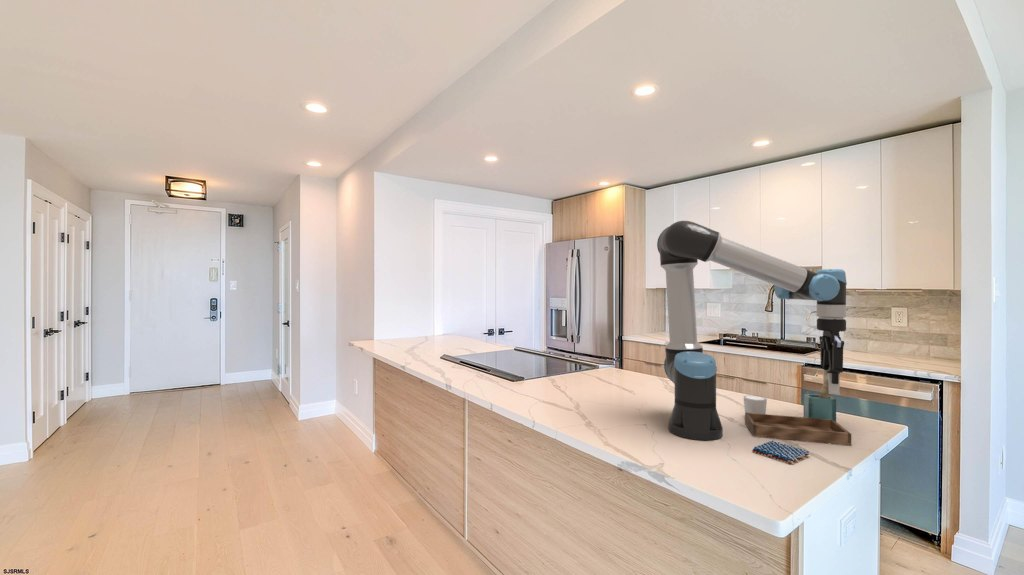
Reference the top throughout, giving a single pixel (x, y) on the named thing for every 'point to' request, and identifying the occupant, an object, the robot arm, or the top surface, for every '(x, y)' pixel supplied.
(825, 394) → the dowel
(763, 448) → the woven mat
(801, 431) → the tray
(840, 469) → the top surface
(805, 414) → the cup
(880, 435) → the top surface
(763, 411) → the shot glass
